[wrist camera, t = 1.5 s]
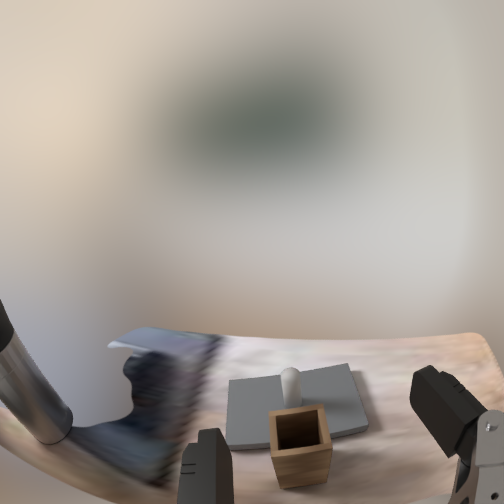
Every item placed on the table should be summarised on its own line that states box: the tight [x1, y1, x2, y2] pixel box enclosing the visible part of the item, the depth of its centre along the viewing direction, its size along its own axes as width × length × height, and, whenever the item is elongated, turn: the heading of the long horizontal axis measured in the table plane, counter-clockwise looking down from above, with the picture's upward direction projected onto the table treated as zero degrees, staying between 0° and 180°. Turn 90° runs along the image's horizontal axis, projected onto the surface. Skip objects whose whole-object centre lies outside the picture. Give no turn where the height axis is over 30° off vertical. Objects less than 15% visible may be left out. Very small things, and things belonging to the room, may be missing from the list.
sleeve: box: [268, 403, 333, 489], centre depth 22 cm, size 5×5×10 cm
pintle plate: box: [225, 363, 369, 450], centre depth 31 cm, size 17×11×8 cm, turn 90°
